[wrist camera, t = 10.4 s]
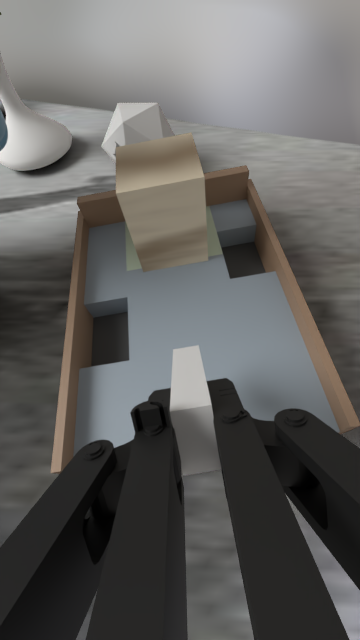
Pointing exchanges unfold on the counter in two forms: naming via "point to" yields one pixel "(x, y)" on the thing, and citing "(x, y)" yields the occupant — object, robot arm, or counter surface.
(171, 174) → the block
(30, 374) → the counter surface
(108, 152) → the die
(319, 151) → the counter surface
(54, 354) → the counter surface
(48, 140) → the flower in vase
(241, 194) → the box
